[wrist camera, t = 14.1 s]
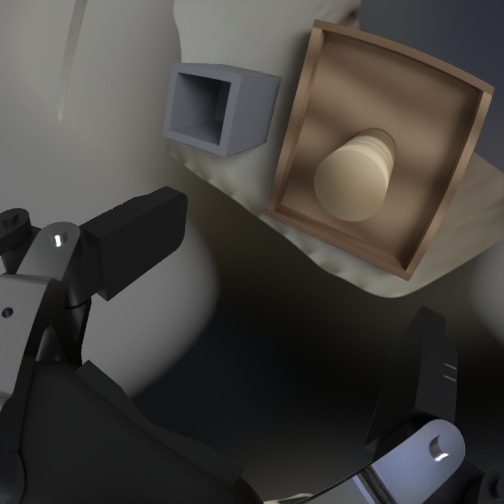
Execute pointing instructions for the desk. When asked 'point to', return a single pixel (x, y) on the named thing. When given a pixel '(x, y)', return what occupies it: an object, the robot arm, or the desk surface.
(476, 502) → the robot arm
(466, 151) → the tray
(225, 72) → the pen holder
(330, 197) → the dowel
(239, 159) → the desk surface
